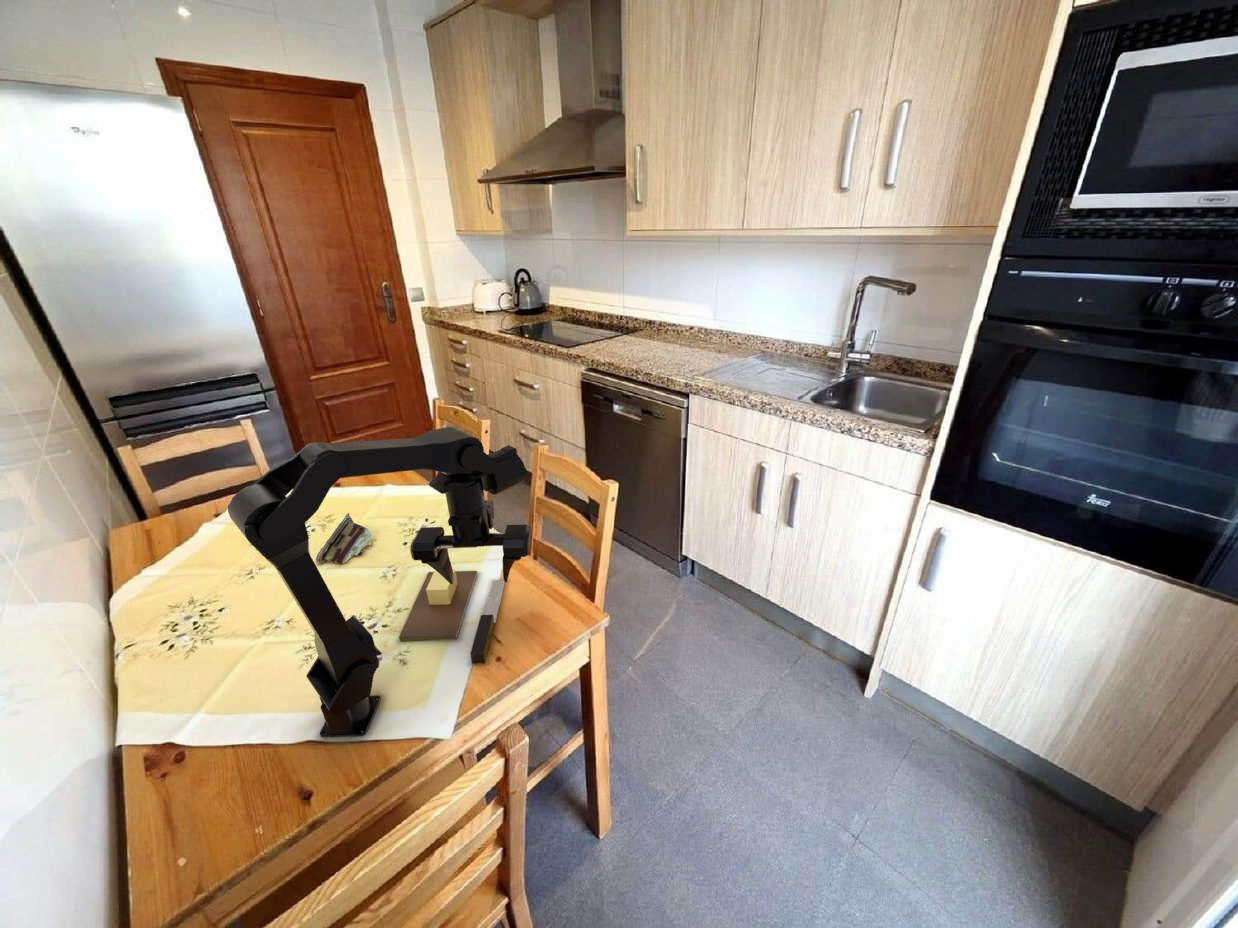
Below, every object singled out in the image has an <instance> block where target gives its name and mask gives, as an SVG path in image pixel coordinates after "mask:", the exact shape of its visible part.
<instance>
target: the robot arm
mask: <svg viewBox="0 0 1238 928" xmlns="http://www.w3.org/2000/svg"><path fill="white" fill-rule="evenodd" d="M419 470H429V471H434V472H437V474H436V475H435V477H433V478H432V480H430V482H429V483H428V486H429V487H430V488H431V489H433V490H435V491H436V492H438V493H440V494H441V495H444V494H445V499H446V504H447V505H446V506H447V510H448V515H449V517H448V520H447V523H448V526H449V527H451V531H452V534H450V535H447V534H446V535H445V528H444V527H442V526H429V527H420V528H419V529H418V531H417V532H416V533H415V536H414V537H413V540H412V542H411V543H410V545H409V546H410V547H409V551H410V556H411V559H412V560H413V561H420V562H421V564H423V565H425V564H426V565H428V566H429V567H431V568H432V569H433V570H434V571H435V570H436V571H437V572H438V573H439V574H441V575H442V576H443V577H444V578H445V579H446V580H447V581H448V582H449V583H450V584H453V583H454V573H453V569H454V568H453V566H452V562H451V559H450V555H449V549H476V548H480V547H499V546H500V547H501V546H502V553H503V554H502V555H503V556H502V558H501V559H502V560H501V561H502V577H503V578H502V579H503V581H504V582H505V583H508V580H509V575H510V571H511V569H512V567H513V565H514V564H515V562H518V561H520V560H522V558H525V557H527V556H529V555H530V549H531V542H532V537H533V536H532V535H533V534H532V528H531V527H530V526H529V525H528V524H527V523H526V524H507V525H506V528H505V532H490V530H492V529H493V527H494V522H493V521H494V519H495V505H494V504H495V503H494V501H493V500H489V499H488V500H486V499H485V492H488V493H490V494H491V495H494V496H495V495H498V494H500V493H503V492H504V491H507V490H510V489H511V488H513V487H516V486H517V485H519V484H522V483H524V482H525V481H527V480H526V479H527V477H528V469H527V467H526V465H525V464H524V462H523V459H522V458H521V457H520V456H519V455H518V450H517V448H516V447H514V446H512V445H509V444H507V445H505V446H503V447H502V448H500V449H498V450H495V451H492V452H490V453H486V452H485V450H484V444H483V443H482V441H481V440H480V439H479V438H477V437H476V436H473V435H471V434H470V433H467V432H465V431H464V430H461V429H458V428H456V427H454V426H445V427H440V428H435V429H432V430H428V431H427V432H425V433H422V434H420V435H418V436H415V437H410V438H409V437H408V438H393V439H375V440H359V441H343V442H323V441H316V442H315V441H314V442H310V443H308V444H306V445H305V446H304V447H302V448H301V449H300V450H299V451H298V452H297V453H296V454H295V455H294V456H293V457H291V458H289V459H287V460H285V461H283V462H282V463H280V464H277V465H276V466H275V467H273V468H271V469H269V470H268V471H266V472H265V473H264V474H263V475H262V476H261V477H260V478H259V479H258V480H257V481H255V483H253V484H252V485H248V486H246V487H244V488H242V489H241V490H238V492H236V494H234V495H233V497H232V498H231V499H230V502H229V504H228V505H227V513H228V515H229V518H230V519H231V521H232V522H233V523H234V524H235V526H236V527H237V528H238V529H239V531H240V532H241V533H242V535H243V536H244V537H245V538H246V540H247V542H248V543H249V544H250V545H251V546H252V547H253V548H254V549H255V550H257V552H258V553H259V554H260V555H261V556H262V557H264V559H265V560H267V561H268V562H269V563H270V564H271V565H272V566H273V567H274V568H275V570H276V572H277V573H278V575H279V577H280V578H281V580H282V581H283V583H284V585H285V586H286V589H287V590H288V592H289V593H290V596H292V598H293V600H294V601H295V603H296V605H297V606H298V608H299V610H300V612H301V613H302V614H303V616H304V618H305V619H306V622H307V623H308V624H309V627H311V630H312V631H313V633H314V647H315V649H316V653H317V658H316V659H315V660H314V662H313V664H312V665H311V667H310V668H309V670H308V672H307V673H306V675H305V677H306V679H307V680H308V681H309V683H310V684H311V686H312V688H313V689H314V690H315V692H316V693H317V695H318V696H319V700H320V703H321V705H320V710H321V713H322V716H323V718H324V720H325V722H324V724H323V726H322V728H321V730H320V732H319V737H320V738H343V737H344V738H345V737H346V738H347V737H363V736H365V735H366V734H367V732H368V730H369V728H370V724H371V723H372V721H373V718H374V716H375V714H376V711H377V709H378V708H379V704H380V702H381V700H382V699H381V696H380V695H372V688H373V682H374V677H375V674H376V671H377V669H379V667H380V660H379V657H378V656H381V655H382V654H383V653H382V651H381V650H380V649H379V648H378V647H377V646H376V645H375V639H374V638H373V635H372V633H370V631H369V630H368V629H367V628H366V627H365V625H363V624H362V623H361V621H360V620H359V619H358V618H357V616H355V615H354V614H353V615H352V616H350V617H349V618H348V619H347V620H346V618H345V616H344V614H343V613H342V610H341V609H340V607H339V605H338V604H337V602H336V600H335V598H334V596H333V594H332V592H331V590H330V589H329V587H328V585H327V583H326V581H325V579H324V577H323V576H322V574H321V572H320V571H319V569H318V567H317V565H316V563H315V561H314V559H313V558H312V556H311V553H310V537H309V533H308V529H307V526H306V523H307V522H308V521H309V520H311V518H312V517H313V516H314V515H315V514H316V513H317V512H318V511H319V508H320V507H321V505H322V503H323V502H324V500H325V499H326V497H327V495H328V493H329V491H330V490H331V488H332V487H333V486H334V485H335V484H336V483H337V482H338V481H339V480H340V479H346V478H347V479H348V478H356V477H365V476H366V477H367V476H374V475H382V474H383V475H384V474H392V473H400V472H408V471H409V472H410V471H419ZM484 491H485V492H484ZM289 493H290V494H289Z"/></svg>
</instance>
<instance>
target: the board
mask: <svg viewBox="0 0 1238 928" xmlns="http://www.w3.org/2000/svg"><path fill="white" fill-rule="evenodd" d="M455 572H456V577H457V583H458V584H457V587H456V590H455V592H454V595H453V598H452V600H451V603H450V604H439V605H429V602H428V597H427V592H426V589H427V587H428V584H429V582H430V580H431V578H432V575H433V573H434V571H428V572H427V574H426V577H425V579H424V581H423V583H422V585H421V587H420V590H419V592H418V594H417V596H416V599H415V600H414V603H413V605H412V607H411V609H410V611H409V613H408V616H407V618H406V620H405V622H404V625H403V627H402V628H401V631H400V633H399V636H398V640H399V642H409V641H411V642H413V641H415V642H416V641H443V640H444V641H445V640H446V641H447V640H448V641H449V640H458V635H459V632H460V630H461V627H462V623H463V620H464V617H465V615H466V611H467V608H468V605H469V601H470V599H471V596H472V593H473V590H474V586H475V584H476V579H477V576H478V571H477V570H455Z"/></svg>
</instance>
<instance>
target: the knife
mask: <svg viewBox="0 0 1238 928" xmlns="http://www.w3.org/2000/svg"><path fill="white" fill-rule="evenodd" d="M491 583H492V584H491V587H490V591H489V594H488V597H487V602H486V606H485V609H484V612H483V614H480V618H479V621H478V623H477V624H478V625H477V628H476V631H475V635H474V639H473V643H472V646H471V649H470V658H471V664H486V662H487V661H486V660H487V657H488V652H489V649H490V644H491V640H492V635H493V633H494V629H495V625H496V623H497V619H498V615H499V611H500V607H501V601H502V597H503V593H504V589H505V585H506V582H504V580H492V582H491Z"/></svg>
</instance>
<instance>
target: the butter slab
mask: <svg viewBox="0 0 1238 928" xmlns="http://www.w3.org/2000/svg"><path fill="white" fill-rule="evenodd" d="M452 569H453V573H454V577H455V575H456V572H455V571H456V569H455V568H452ZM433 572H434V573H433V575H432V578H431V580H430V582H429V584H428V587H427V589H426V592H427V595H429V594H448V593H449V591H450V588H451V585H452V584H450V583H449V582H448V581H447V580H446V579H445V578H444V577H443V576H442V575H441V574H439V573H438V572H437V571H436V570H435V569H434V571H433Z"/></svg>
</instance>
